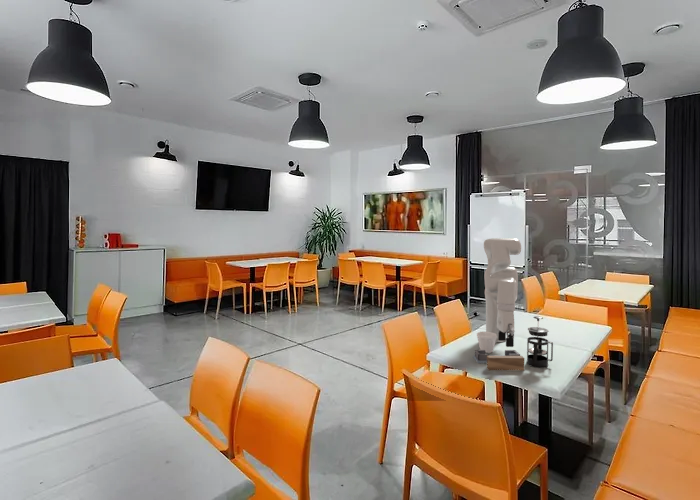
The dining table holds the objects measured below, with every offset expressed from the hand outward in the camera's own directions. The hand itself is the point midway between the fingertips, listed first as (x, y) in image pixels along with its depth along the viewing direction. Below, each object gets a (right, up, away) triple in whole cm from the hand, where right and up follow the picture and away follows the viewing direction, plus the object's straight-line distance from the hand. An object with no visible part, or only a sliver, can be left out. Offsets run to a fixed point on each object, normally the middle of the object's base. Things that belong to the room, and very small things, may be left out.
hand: (505, 343), depth 178 cm
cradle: (+1, -11, +13) cm, 17 cm away
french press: (+18, -12, +6) cm, 23 cm away
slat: (0, -12, +1) cm, 13 cm away
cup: (0, -11, +26) cm, 28 cm away
